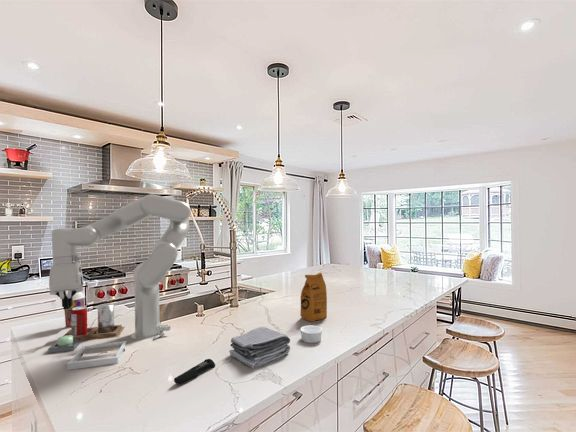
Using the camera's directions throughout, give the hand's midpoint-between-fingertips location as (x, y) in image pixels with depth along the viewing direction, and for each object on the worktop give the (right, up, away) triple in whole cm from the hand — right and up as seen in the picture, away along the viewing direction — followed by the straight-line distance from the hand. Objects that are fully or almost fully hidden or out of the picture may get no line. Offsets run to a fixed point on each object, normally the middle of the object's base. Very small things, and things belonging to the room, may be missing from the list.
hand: (67, 308), depth 119 cm
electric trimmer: (+55, -16, -19) cm, 60 cm away
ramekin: (+94, -16, +9) cm, 96 cm away
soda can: (-3, -15, +11) cm, 19 cm away
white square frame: (+16, -16, -6) cm, 23 cm away
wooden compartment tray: (+2, -16, +13) cm, 21 cm away
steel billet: (+6, -15, +14) cm, 22 cm away
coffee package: (+97, -16, +36) cm, 105 cm away
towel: (+74, -16, -5) cm, 76 cm away
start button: (-1, -15, 0) cm, 15 cm away
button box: (-1, -16, 0) cm, 16 cm away
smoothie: (-15, -17, +26) cm, 34 cm away
